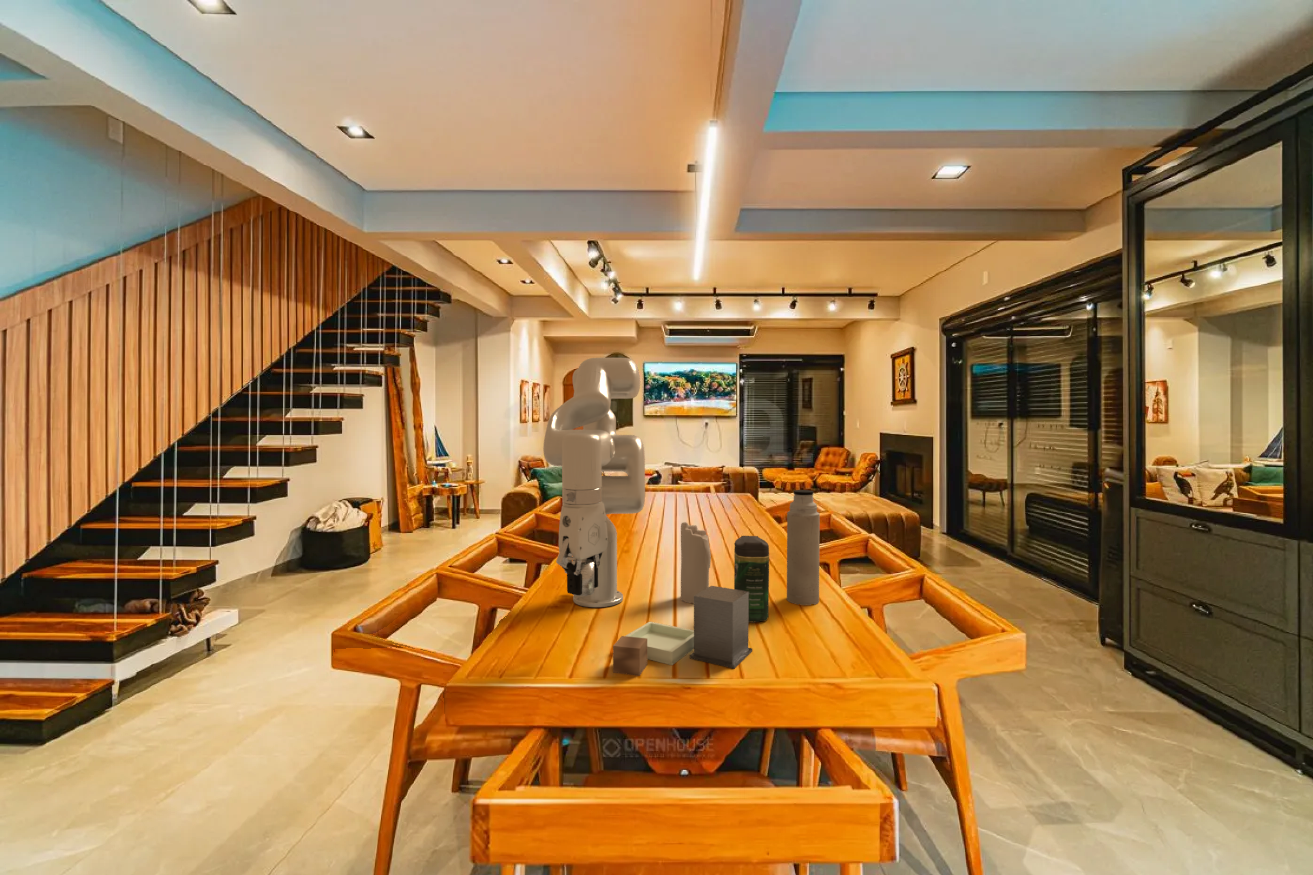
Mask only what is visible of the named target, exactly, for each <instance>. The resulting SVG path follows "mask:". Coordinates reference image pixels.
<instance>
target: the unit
mask: <svg viewBox="0 0 1313 875" xmlns="http://www.w3.org/2000/svg"><path fill="white" fill-rule="evenodd" d="M748 611H749V591H742V590H736V589H734V588H729V587H722V586H715V585H709V587H708V588H707V589H705V590H703V591H701V592H700V593H698V594H696V595H695V596H694V603H693V630H694V649H693V652H692V653H691V654H689V659H690V660H695V661H699V662H703V663H708V664H712V665H717V666H720V667H721V666H722V667H725V668H730V669H733V670H735V669H736V668H737V666H739V665H740V664H741V663H742V662H743V661H744V660H745V659H746V658H747V657H748V656H749V655H750V654H751V653H752V652H753V648H751V647H749V622H748Z"/></svg>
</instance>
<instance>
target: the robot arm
mask: <svg viewBox="0 0 1313 875" xmlns="http://www.w3.org/2000/svg"><path fill="white" fill-rule="evenodd" d="M572 385H573V390H574V391H573V397H571V398H569V399H568V400H566V401H565V402H564V403H562V404H561V405H560V406H559V407H557V408H556V409H555V410H554V411H553V412H552V413H551V415H550V416H549V419H548V421H547V424H546V428H545V433H544V438H543V447H542V448H543V456H544V459H545V461H546V462H547V463H548V464H549V465H551V466H555V467H561V475H562V476H561V477H562V478H561V479H562V480H561V483H562V486H561V488H562V493H561V494H562V495H561V496H562V498H561V499H562V506H561V511H560V516H559V528H558V551H559V553H558V555H557V558H556V562H555V563H556V564H557V565H559V566H560V567H562V569H563V570H564V574H566V590H567V594H569V595H573V594H574V595H573V596H572V597H573V598H572V600H573V603H574V604H576V605H578V606H579V607H580V606H581V607H586V608H606V607H612V606H615V605H618V604H620V603H621V602H623V600H624V594H623V593H622V592H621V591H619V590H618V543H617V542H618V540H617V539H618V537H617V536H618V532H617V528H616V526H615V525H614V523H613V522H612V521H611V519H610V518H609V517H608V516H607V515H611V514H614V515H618V514H623V515H624V514H625V515H626V514H627V515H628V514H629V515H630V514H637V513H640V512H642V511H643V509H644V507H645V501H646V464H645V462H646V461H645V460H646V457H645V447H644V442H643V440H642V439H641V438H640V437H639V436H637V435H635V434H617V433H616V430H617V429H616V428H617V418H616V415H615V414H614V412H613V410H611V404H612V403H611V402H612V400H613V399H625V400H626V399H627V400H628V399H634V398H636V397H637V396H638V394H639V392H640V388H641V374H640V371H639V367H638V365H637V364H636V362H635V361H634V360H633V359H631V358H628V357H591V358H587V359H585V360H583V361H582V362H581V363H580V364H579V366H578V367H577V369H575V370H574V371H573V374H572ZM580 427H582V428H583V429H578V428H580ZM602 472H617V473H618V472H622V473H623V472H624V473H625V474H626V475H602V474H603V473H602ZM583 559H591V560H593V561H594V593H593V594H592V595H588V596H575V595H581V594H582V574H579V573H580V567H581V560H583ZM572 561H575V566H574V565H573V564H572Z"/></svg>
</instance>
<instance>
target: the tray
mask: <svg viewBox="0 0 1313 875" xmlns="http://www.w3.org/2000/svg"><path fill="white" fill-rule="evenodd" d="M625 636H628V637H638V638H647V661H648V660H649V661H652V662H653V661H654V662H657V663H661V664H664V665H665V664H666V665H669V666H674V664H676V663H677V662H679V660H681V659H682V658H684V657H685V656H686V655H687V654H689V653H691V652H692V651H694V629H689V628H684V627H679V626H673V625H671V624H670V625H668V624H663V623H659V622H656V621H655V622H653V621H648V622H647V623H645V624H644V625H642V626H639V627H638V628H637V629H634V630H633V631H631V632H629V633H628V634H626V635H625Z"/></svg>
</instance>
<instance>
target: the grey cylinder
mask: <svg viewBox="0 0 1313 875" xmlns="http://www.w3.org/2000/svg"><path fill="white" fill-rule="evenodd" d="M572 564H573V565H574V566H575V561H573V560H572ZM579 574H582V594H581V595H575V596H588V595H592V594H593V593H594V561H593V560H591V559H583V560H581V567H580V573H579ZM572 595H573V596H574V594H572Z"/></svg>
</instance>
